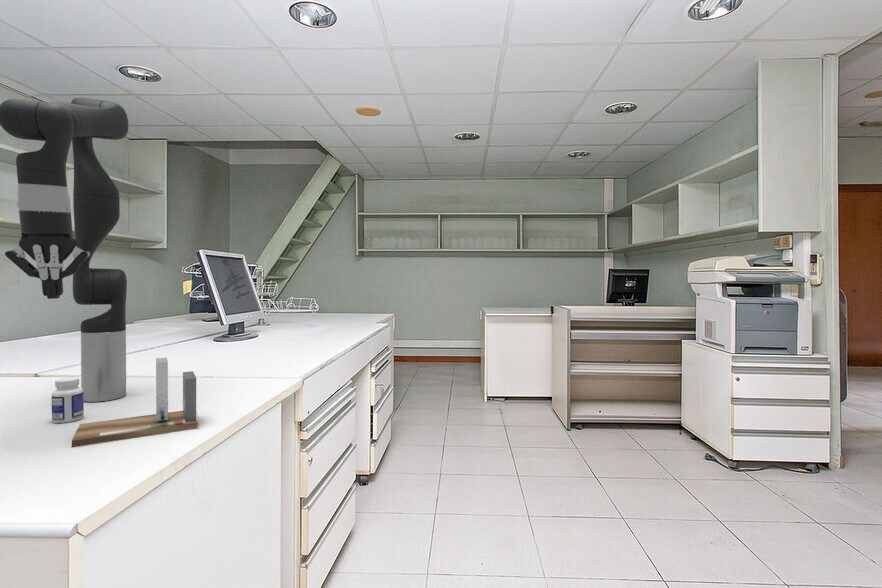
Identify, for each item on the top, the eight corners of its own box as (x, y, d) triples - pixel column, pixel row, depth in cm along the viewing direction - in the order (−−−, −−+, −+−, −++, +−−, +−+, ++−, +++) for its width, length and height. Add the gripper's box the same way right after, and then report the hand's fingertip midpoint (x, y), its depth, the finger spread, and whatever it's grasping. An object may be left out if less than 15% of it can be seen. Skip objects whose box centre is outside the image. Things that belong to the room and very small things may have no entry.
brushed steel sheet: (156, 413, 94) (155, 358, 94) (167, 412, 95) (166, 357, 95) (156, 425, 86) (156, 365, 86) (168, 424, 88) (168, 364, 87)
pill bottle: (82, 414, 99) (81, 375, 99) (85, 420, 95) (84, 379, 95) (50, 419, 95) (50, 378, 95) (52, 425, 91) (52, 383, 91)
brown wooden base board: (79, 429, 89) (79, 422, 89) (192, 414, 100) (192, 407, 100) (71, 447, 80) (71, 439, 80) (196, 428, 91) (196, 421, 91)
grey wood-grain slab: (182, 412, 98) (182, 372, 97) (193, 410, 99) (193, 371, 98) (185, 422, 91) (185, 379, 91) (196, 420, 92) (196, 377, 92)
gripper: (93, 212, 91) (99, 294, 93) (7, 208, 85) (16, 296, 87) (83, 211, 84) (90, 299, 87) (-10, 207, 78) (0, 302, 81)
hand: (53, 298), depth 87 cm, fingers closed
